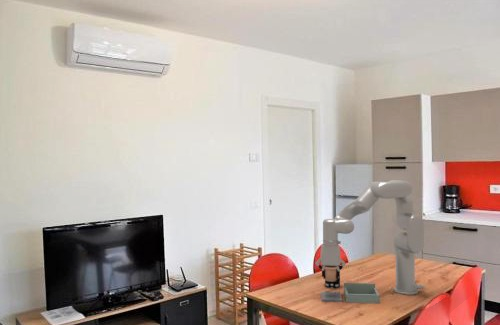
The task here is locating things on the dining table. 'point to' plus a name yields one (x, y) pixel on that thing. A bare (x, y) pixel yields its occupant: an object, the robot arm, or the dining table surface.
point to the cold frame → (361, 293)
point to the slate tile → (331, 296)
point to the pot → (330, 273)
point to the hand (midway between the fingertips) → (330, 277)
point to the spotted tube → (333, 283)
